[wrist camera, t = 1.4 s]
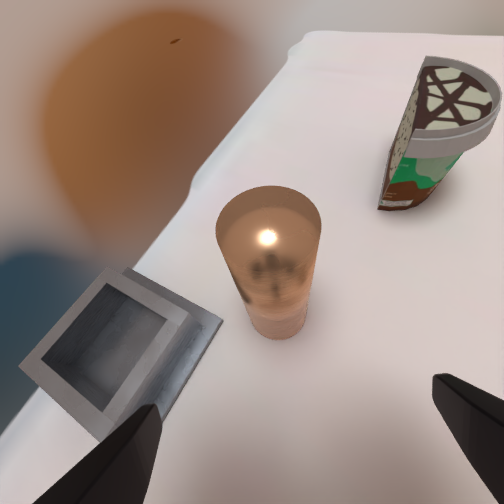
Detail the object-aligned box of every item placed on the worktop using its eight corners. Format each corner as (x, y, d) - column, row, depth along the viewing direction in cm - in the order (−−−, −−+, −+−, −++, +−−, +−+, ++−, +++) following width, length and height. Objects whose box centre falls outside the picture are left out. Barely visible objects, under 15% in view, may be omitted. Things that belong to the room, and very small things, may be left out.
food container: (441, 233, 25) (518, 145, 17) (375, 219, 27) (414, 133, 19) (445, 152, 31) (505, 55, 22) (390, 145, 32) (426, 53, 24)
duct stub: (135, 467, 19) (99, 481, 15) (39, 379, 23) (-7, 373, 19) (223, 320, 23) (211, 305, 20) (130, 269, 28) (107, 249, 24)
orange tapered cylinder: (291, 350, 21) (293, 289, 10) (240, 323, 23) (195, 245, 12) (314, 299, 23) (337, 202, 12) (265, 277, 25) (247, 175, 14)
